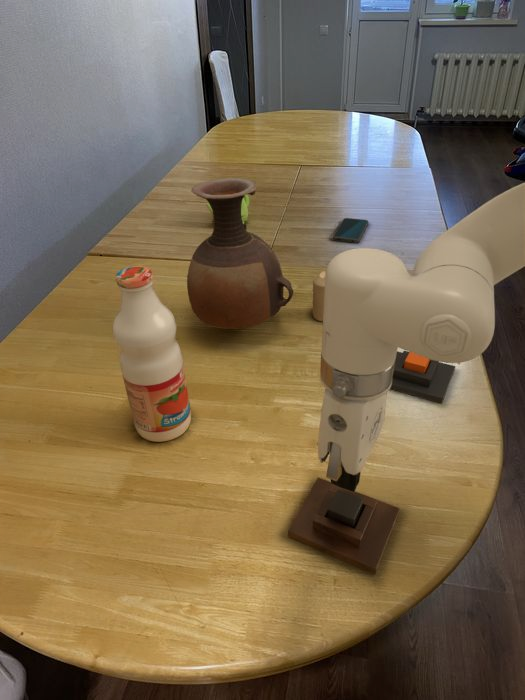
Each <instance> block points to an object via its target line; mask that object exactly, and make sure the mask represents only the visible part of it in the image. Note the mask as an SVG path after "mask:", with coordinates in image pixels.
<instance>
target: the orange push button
mask: <svg viewBox="0 0 525 700" xmlns="http://www.w3.org/2000/svg"><path fill="white" fill-rule="evenodd" d="M408 354H409V351H407V350H403V351H398V350H397V354H396V359H395V366H394V372H393V378H392V385H391V388H390V389H389V390H394V391H396V392H400V393H404V394H407V395H410V396H414V397H417V398H421V399H425V400H429V401H432V402H435V403H439V404H443V402H444V399H445V396H446V394H447V391H448V389H449V386H450V384H451V381H452V378H453V376H454V374H455V370H456V366H455V365H453V364H450V363H445V362H439V361H435V360H431V359H430V361H429V365H428V367H427V369H426V371H425V373H424V374H423V373H419V372H415V371H412V370H408V369H404V364H405V360H406V358H407V356H408Z"/></svg>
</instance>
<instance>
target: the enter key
mask: <svg viewBox="0 0 525 700" xmlns="http://www.w3.org/2000/svg"><path fill="white" fill-rule="evenodd" d="M408 352H409V351H408ZM429 361H430V359H428V358H425V357H422V356H419V355H417V354H414V353H412V352H409V354H408V356H407V358H406V360H405V364H404V369H408V370H412V371H415V372H419V373H423V374H424V373H425V371H426V369H427V367H428V365H429Z"/></svg>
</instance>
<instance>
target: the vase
mask: <svg viewBox="0 0 525 700" xmlns="http://www.w3.org/2000/svg"><path fill="white" fill-rule="evenodd" d="M257 189H258V186H257V183H256V182H255V181H254V180H251V179H248V178H242V177H225V178H223V177H222V178H217V179H209V180H207V181H202V182H199V183H197V184H195V185H194V186H193V187H192V188H191V192H192V194H194V195H196V197H200V198H201V199H204V200H206V201H207V203H209V204H210V206H211V208H212V211H213V217H214V218H213V217H212V218H213V231H212V233H211V235H210V236H208V237H207V238H206V239H205V240H203V241H202V242H201V243H200V244H199V245H198V246H197V247H196V249H195V251H194V252H193V254H192V256H191V260H190V262H189V265H188V266H189V267H188V271H187V276H186V286H187V288H186V289H187V294H188V295H187V296H188V301H189V304H190V307H191V310H192V312H193V314H194V316H195V317H196V318H197V319H198V320H199V321H200V322H201V323H203V324H204V325H207V326H210V327H214V328H217V329H226V330H227V329H228V330H243V329H247V328H252V327H256V326H258V325H261V324H263V323H265V322H267V321H269V320H271V319H272V318H273V317H275V316H276V315H277V314H278V313H279V312H280V311H281V308H283V307H285V306H286V305H287V304H288V303H289V302H290V301H291V300H292V298H293V296H294V290H293V286H292V283H291V282H290V281H289V280H288V279H287V278H286V277H284V275H283V271H282V266H281V263H280V261H279V259H278V257H277V255H276V253H275V252H274V251H273V249H272V248H271V246H270V245H269V244H268V243H267V242H266V241H265V240H264V239H263V238H261V237H260V236H258V235H256V234H255V233H253V232H250V231H247V224H245V223H244V224H243V222H242V217H241V204H242V200H243V197H244V195H247V194H248V195H250V196H254V195H255V194H256V191H257ZM284 288H285V289H286V290H287V291H288V297H287V298H285V297H284V292H285V291H284Z"/></svg>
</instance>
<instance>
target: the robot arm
mask: <svg viewBox="0 0 525 700" xmlns="http://www.w3.org/2000/svg"><path fill="white" fill-rule="evenodd" d="M524 267H525V182H522V183H520V184H518V185H516V186H513V187H511V188H509V189H508V190H506V191H503V192H502V193H500V194H498V195H496V196H495V197H493V198H491V199H490V200H488V201H486V202H485V203H483V204H482V205H481V206H479V207H478V208H477V209H474V211H472V212H471V213H469V214H468V215H466V216H465V217H464V218H462V219H460V220H459V221H458V222H457V223H455V224H454V225H452V226H451V227H450V228H448V229H447V230H446V231H444V232H443V233H441V234H440V235H439V236H437V237H436V238H435V239H434V240H433V241H432V242H431V243H429V245H427V246H426V248H424V250H423V251H422V252H421V253H420V255H419V256H418V258H417V259H416V261H415V264H414V266H413V270H412V274H409V272H408V269H407V266H406V265H405V263H404V262H403V260H401V258H400V257H398V256H396V255H395V254H393V253H391V252H389V251H386V250H382V249H378V248H371V247H370V248H369V247H361V248H360V247H357V248H351V249H347V250H344V251H342V252H340V253H338V254H336V255H334V257H333V258H332V259H330V261H329V263H328V265H327V266H326V270H325V271H326V276H325V291H324V311H323V321H322V331H321V332H322V333H321V349H320V350H321V352H320V368H319V369H320V370H319V371H320V372H319V379H320V382H321V385H322V386H323V388H324V393H323V400H322V405H321V406H322V407H321V412H320V419H319V428H318V429H319V430H318V439H317V456H318V457H317V458H318V460H319V462H320V463H324V462H326V460H327V459H328V462H327V463H328V464H327V470H326V473H325V478H326V479H328V480H330V482H331V483H332V484H334V485H337V486H338V487H341V488H343V489H347V490H349V491H352V492H354V491H356V489H357V486H358V485H359V483H360V479H361V472H362V470H363V468H364V466H365V464H366V463H367V461H368V459H369V457H370V455H371V453H372V451H373V450H374V449H373V448H374V447H375V444H376V443H377V440H378V439H379V436H380V435H381V432H382V430H383V427H384V423H385V416H386V406H387V396H388V392H389V391H390V390H391V389H390V388H391V385H392V378H393V372H394V366H395V359H396V354H397V351H398V348H399V349H402V350H403V351H408V352H412V353H414V354H417V355H419V356H422V357H425V358H428V359H431V360H435V361H439V362H441V363H445V364H460V363H461V364H462V363H465V362H469V361H472V360H474V359H476V358H477V357H479V356H480V355H482V354H483V353H484V352H485V351H486V350H487V349H488V347H489V346H490V344H491V342H492V340H493V337H494V333H495V328H496V327H495V326H496V310H495V308H496V307H495V288H494V287H495V285H497V284H498V283H500V282H501V281H503V280H504V279H506V278H508V277H510V276H511V275H513V274H514V273H516V272H518V271H520V270H521V269H523V268H524Z"/></svg>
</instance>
